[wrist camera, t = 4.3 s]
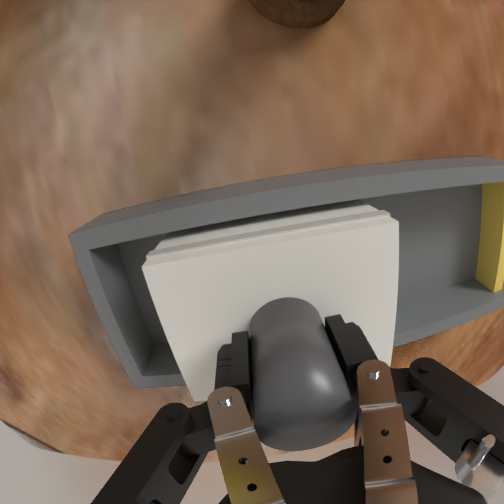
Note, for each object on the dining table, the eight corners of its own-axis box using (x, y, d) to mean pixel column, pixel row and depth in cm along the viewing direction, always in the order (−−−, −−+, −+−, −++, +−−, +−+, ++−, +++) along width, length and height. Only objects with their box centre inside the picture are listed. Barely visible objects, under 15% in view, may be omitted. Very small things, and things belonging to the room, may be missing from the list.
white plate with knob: (171, 224, 20) (82, 344, 8) (351, 192, 19) (483, 271, 7) (203, 336, 23) (181, 486, 11) (357, 309, 23) (431, 439, 10)
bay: (100, 214, 21) (68, 234, 16) (482, 156, 20) (521, 164, 15) (149, 349, 25) (134, 387, 20) (475, 282, 24) (505, 306, 19)
